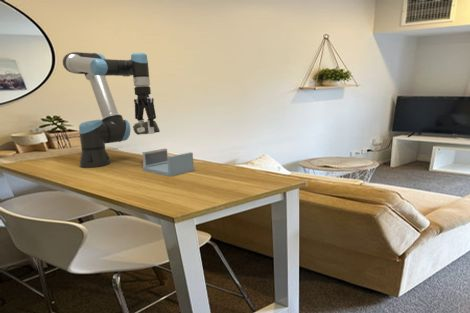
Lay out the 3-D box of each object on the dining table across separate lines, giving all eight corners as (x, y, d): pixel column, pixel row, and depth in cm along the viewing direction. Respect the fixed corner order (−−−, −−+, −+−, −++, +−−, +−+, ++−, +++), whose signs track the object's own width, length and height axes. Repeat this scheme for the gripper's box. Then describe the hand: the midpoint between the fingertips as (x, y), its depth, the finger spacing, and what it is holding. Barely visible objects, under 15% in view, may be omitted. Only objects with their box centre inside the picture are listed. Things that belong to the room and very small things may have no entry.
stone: (146, 143, 163) (134, 125, 160) (140, 144, 168) (128, 127, 165) (166, 128, 171) (155, 111, 168) (160, 130, 176) (149, 113, 173)
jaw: (143, 166, 163) (142, 152, 162) (166, 162, 172) (165, 148, 171) (145, 167, 161) (144, 152, 160) (168, 162, 171) (167, 148, 169)
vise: (142, 170, 163) (140, 152, 162) (166, 165, 173) (165, 148, 171) (169, 176, 148) (168, 157, 147) (194, 170, 158) (193, 152, 157)
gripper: (124, 88, 169) (129, 133, 172) (147, 85, 155) (152, 135, 159) (137, 87, 174) (142, 132, 178) (160, 84, 160) (165, 133, 164)
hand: (146, 133), depth 168 cm, fingers closed on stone, 7 cm apart
